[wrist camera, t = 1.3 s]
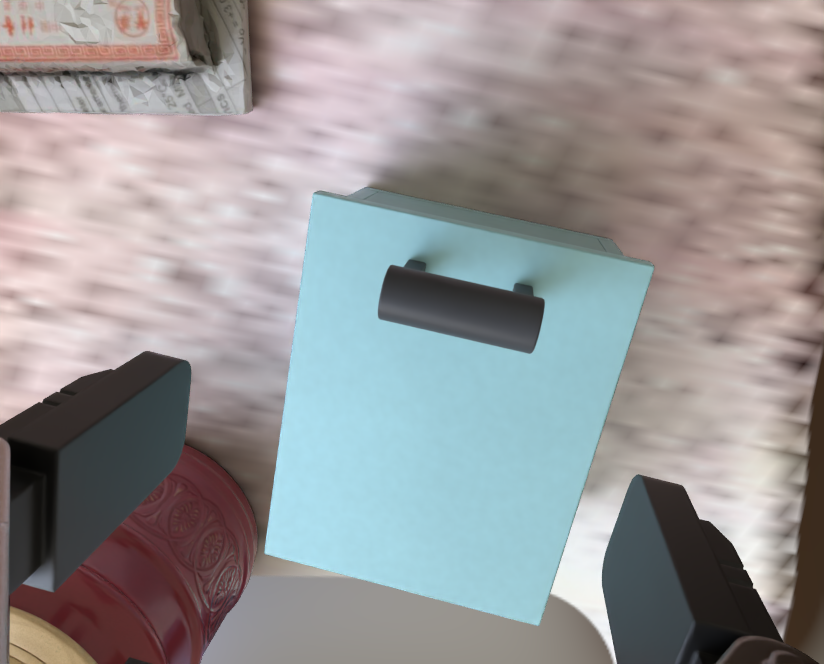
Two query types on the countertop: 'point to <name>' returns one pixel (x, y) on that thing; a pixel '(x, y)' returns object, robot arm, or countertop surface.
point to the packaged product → (125, 57)
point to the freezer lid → (445, 401)
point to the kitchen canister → (148, 579)
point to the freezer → (488, 219)
